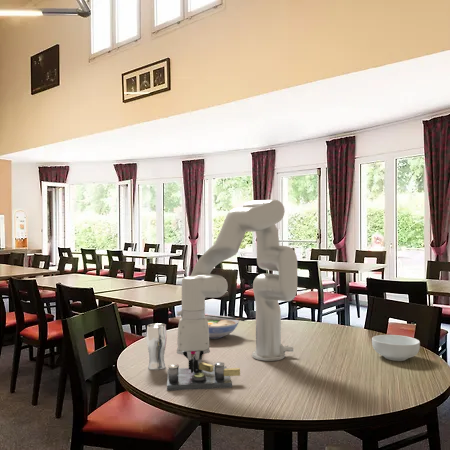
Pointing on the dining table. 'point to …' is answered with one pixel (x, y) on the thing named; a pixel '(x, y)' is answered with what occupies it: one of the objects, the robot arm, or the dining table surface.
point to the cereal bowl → (396, 346)
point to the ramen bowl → (221, 325)
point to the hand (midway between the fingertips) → (193, 371)
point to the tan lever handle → (204, 366)
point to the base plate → (197, 380)
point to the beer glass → (156, 345)
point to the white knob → (173, 372)
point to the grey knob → (225, 371)
